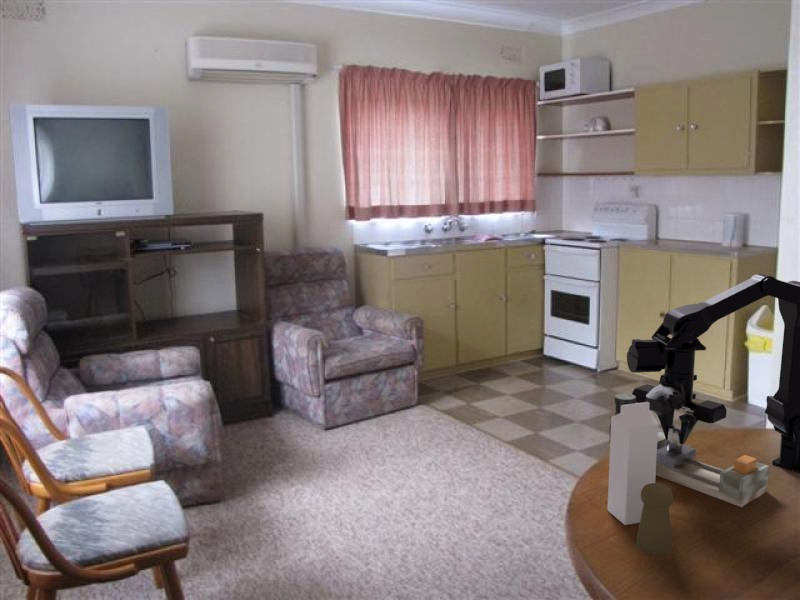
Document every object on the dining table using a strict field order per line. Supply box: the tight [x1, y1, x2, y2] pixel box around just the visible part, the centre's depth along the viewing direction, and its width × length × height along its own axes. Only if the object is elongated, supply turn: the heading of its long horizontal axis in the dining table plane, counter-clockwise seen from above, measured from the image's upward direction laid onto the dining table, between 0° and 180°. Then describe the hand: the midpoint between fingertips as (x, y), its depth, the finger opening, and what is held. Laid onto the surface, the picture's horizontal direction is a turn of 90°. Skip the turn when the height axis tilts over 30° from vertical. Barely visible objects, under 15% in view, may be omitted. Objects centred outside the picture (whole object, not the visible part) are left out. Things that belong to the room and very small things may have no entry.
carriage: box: [656, 424, 697, 468], centre depth 154 cm, size 8×5×7 cm, turn 128°
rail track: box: [655, 431, 770, 508], centre depth 151 cm, size 10×24×6 cm, turn 38°
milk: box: [607, 402, 659, 526], centre depth 134 cm, size 6×6×22 cm
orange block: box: [733, 454, 758, 475], centre depth 142 cm, size 4×2×3 cm, turn 128°
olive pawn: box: [635, 482, 674, 556], centre depth 125 cm, size 6×6×11 cm
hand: (675, 441), depth 154 cm, fingers closed on carriage, 3 cm apart
